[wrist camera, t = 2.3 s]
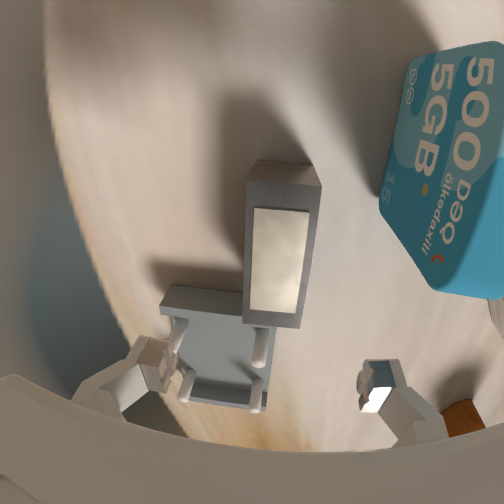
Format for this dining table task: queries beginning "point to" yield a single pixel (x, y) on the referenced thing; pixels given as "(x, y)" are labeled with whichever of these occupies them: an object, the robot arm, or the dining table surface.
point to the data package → (451, 170)
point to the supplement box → (497, 314)
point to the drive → (279, 241)
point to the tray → (219, 348)
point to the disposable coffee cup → (462, 419)
